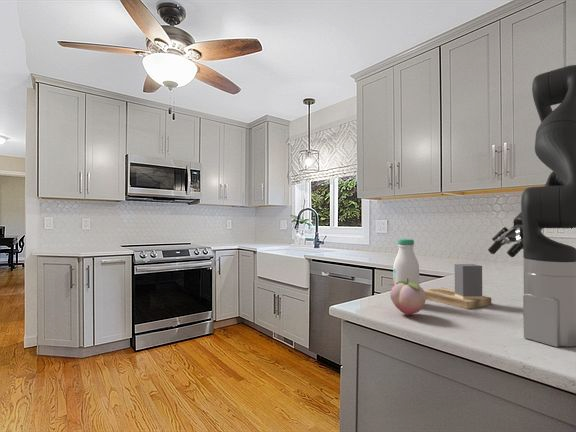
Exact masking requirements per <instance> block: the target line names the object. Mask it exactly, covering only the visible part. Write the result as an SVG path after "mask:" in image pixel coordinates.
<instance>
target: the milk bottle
mask: <svg viewBox="0 0 576 432" xmlns="http://www.w3.org/2000/svg"><path fill="white" fill-rule="evenodd" d="M397 245H398V252H397V254H396V257H395V259H394V262H393V268H392V269H393V270H392V288H393V287H394V286H395V285H396V283H397V282H399V281H406V282H407V278H408V282H409V283H416V284H417V285H419V286H420V287H421V285H420V265H419V264H420V263H419V260H418V259H417V257H416V254H415V252H414V251H415V250H414V247H415V240H414V239H412V238H399V239H398V240H397Z"/></svg>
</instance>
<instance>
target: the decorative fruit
mask: <svg viewBox="0 0 576 432" xmlns="http://www.w3.org/2000/svg"><path fill="white" fill-rule="evenodd" d="M424 290H425V289H424V288H423V287H422V286H421V285H420V286H419V285H417V284H416V283H409V282H408V278H407V282H406V281H399V282H397V283H396V285H395V286H394V287H393V286H392V288H391V290H390V295H389V296H390V299H391V301H392V303H393V305H394V307H396V308H397V310H399V311H400V312H402V314H404V315H406V316H411V315H414V314H416V313H419V312H420V311H421V310H422V309H423V308H424V306H425V303H426V301H427V299H426V294H425V292H424Z"/></svg>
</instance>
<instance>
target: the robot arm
mask: <svg viewBox="0 0 576 432" xmlns="http://www.w3.org/2000/svg"><path fill="white" fill-rule="evenodd" d="M531 85H532V86H531V87H532V88H531V90H532V91H531V92H532V97H533V102H534V106H535V109H536V111H537V114H538V117H539V121H540V124H539V125H538V127H537V129H536V132H535V140H534V152H535V155H536V156H537V158H538V160H540V162H542V163H543V164H544V165H545V167H547V168H548V169H550V170H551V171H552V172H551V173H550V174H549V175H548V178H547V179H546V182H545V184H544V186H530V187H527V188H525V189H524V190H523V192H522V194H521V199H520V200H521V201H520V208H521V210H520V212H519V214H517V216H515V218H513V220H512V223H513V226H511V227H510V228H508V227H506V226H504V227H502V228H501V230H499V231H498V232H497V233H496V235H494V236H493V237H492V238H491V240H492V241H493V243H492V244H491V245H490V246H489V248H488V249H487V251H488V252H489V253H490V254H491V255H495V254H496V253H497V252H498V251H499V250H500V249H501V248H502V246H504V245H509V244H512V243H514V244H513V245H512V246H511V247H510V248H509V249H508V250H507V251H506V254H507V255H508V256H509V257H510V258H515V256H517V255H518V253H519V252H520V251H521V250H522V251H523V252H522V253H523V255H522V257H523V258H522V259H523V260H522V262H523V264H522V265H523V272H522V273H523V296H522V299H523V301H522V303H523V306H522V309H523V310H522V311H523V312H522V313H523V318H522V319H523V323H522V324H523V338H525V339H528V340H531V341H534V342H537V343H542V344H546V345H549V346H552V347H556V348H558V347H576V247H574V246H573V245H569V244H564V243H562V242H559V241H556V240H554V239H551V238H549V237H548V236H546V235H545V234H543V233H542V230H543V229H576V64H572V65H571V64H570V65H567V66H564V67H561V68H556V69H554V70H550V71H547V72H543V73H540V74H538V75H536V76H535V77H534V78H533V81H532V84H531ZM555 105H557V107H556V108H554V109H552V106H555ZM515 242H516V243H515Z"/></svg>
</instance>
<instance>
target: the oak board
mask: <svg viewBox="0 0 576 432" xmlns="http://www.w3.org/2000/svg"><path fill="white" fill-rule="evenodd" d="M423 290H424V292H425V294H426V300H429V299H430V301H434V302H437V301H438V302H439V303H441V304H446V305H451V306H454V307H457V308H462V309H465V310H468V309H474V308H479V307H484V306H489V305H492V297H490V296H486V295H485V296H484V295H482V299H461V298H459V297H457V296H455V289H451V288H447V287H446V288H445V287H436V288H430V289H423Z"/></svg>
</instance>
